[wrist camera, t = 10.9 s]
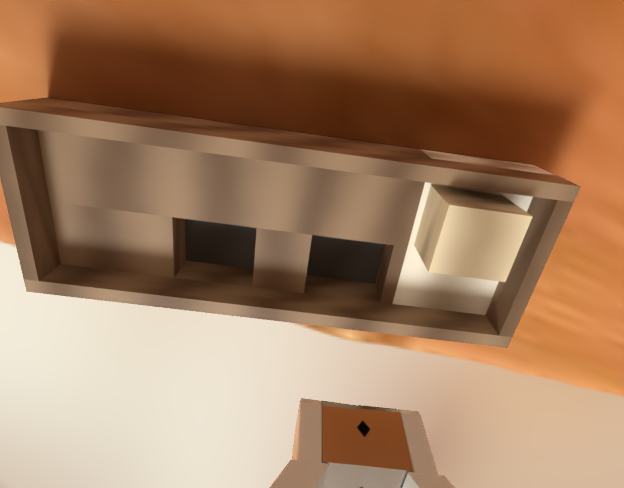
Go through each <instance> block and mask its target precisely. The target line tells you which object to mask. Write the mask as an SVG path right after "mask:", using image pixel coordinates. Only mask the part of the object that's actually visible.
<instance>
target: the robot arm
mask: <svg viewBox="0 0 624 488" xmlns="http://www.w3.org/2000/svg"><path fill="white" fill-rule="evenodd" d="M270 488H455V487H454V486H453V485H452V484H451V483H450V481H448V479H447V478H446V477H445V476H442V475H438V473H437V469H436V466H435V462H434V459H433V456H432V452H431V449H430V445H429V442H428V439H427V435H426V432H425V428H424V425H423V422H422V419H421V415H420V414H419V412H417V411H408V410H397V409H390V408H380V407H370V406H361V405H359V406H356V405H349V404H341V403H334V402H327V401H318V400H310V399H303V398H302V399H301V400H300V405H299V411H298V418H297V423H296V429H295V437H294V445H293V455H292V460H290V462H289V463H288V464H287V466H286V467H285V468H284V470H283V471H282V472H281V474H280V475H279V476H278V478H277V479H276V480H275V482H274V483H273V484H272V486H271V487H270Z"/></svg>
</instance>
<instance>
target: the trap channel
mask: <svg viewBox="0 0 624 488" xmlns="http://www.w3.org/2000/svg"><path fill="white" fill-rule="evenodd" d="M0 178H1V182H2V187H3V191H4V195H5V200H6V204H7V208H8V213H9V217H10V221H11V226H12V230H13V234H14V239H15V243H16V247H17V252H18V255H19V260H20V265H21V269H22V273H23V278H24V282H25V286H26V291H27V292H36V293H44V294H53V295H61V296H70V297H78V298H87V299H96V300H105V301H113V302H122V303H130V304H138V305H147V306H155V307H164V308H172V309H181V310H189V311H199V312H206V313H215V314H223V315H232V316H240V317H249V318H258V319H267V320H275V321H283V322H292V323H300V324H309V325H317V326H326V327H334V328H343V329H351V330H360V331H368V332H377V333H385V334H394V335H402V336H411V337H420V338H428V339H437V340H445V341H454V342H462V343H471V344H479V345H488V346H496V347H505V348H508V345H509V343H510V341H511V339H512V337H513V334H514V332H515V330H516V328H517V326H518V323H519V321H520V319H521V317H522V315H523V312H524V310H525V308H526V306H527V304H528V301H529V299H530V297H531V295H532V293H533V290H534V288H535V286H536V284H537V282H538V279H539V277H540V275H541V273H542V271H543V268H544V266H545V264H546V262H547V260H548V257H549V255H550V253H551V251H552V249H553V246H554V244H555V242H556V240H557V238H558V235H559V233H560V231H561V229H562V227H563V224H564V222H565V220H566V218H567V216H568V213H569V211H570V209H571V207H572V205H573V202H574V200H575V198H576V196H577V194H578V191H579V189H580V187H581V186H578V185H576V184H574V183H572V182H570V181H567V180H565V179H563V178H561V177H559V176H557V175H554V174H552V173H550V172H548V171H546V170H543V169H541V168H539V167H537V166H535V165H531V164H523V163H516V162H509V161H502V160H494V159H487V158H480V157H473V156H466V155H458V154H451V153H444V152H437V151H429V150H422V149H415V148H408V147H401V146H393V145H386V144H379V143H372V142H364V141H357V140H350V139H343V138H336V137H328V136H321V135H314V134H307V133H299V132H292V131H285V130H278V129H270V128H263V127H256V126H249V125H242V124H234V123H227V122H220V121H213V120H205V119H198V118H191V117H184V116H177V115H169V114H162V113H155V112H148V111H140V110H133V109H126V108H119V107H112V106H104V105H97V104H90V103H83V102H75V101H68V100H61V99H54V98H40V99H31V100H22V101H14V102H5V103H0ZM431 185H433V186H440V187H448V188H455V189H462V190H469V191H476V192H483V193H490V194H498V195H503V196H504V197H506V198H507V199H509V200H510V201H511V202H513V203H514V204H516V205H517V206H519V207H520V208H521V209H523V210H524V211H526V212H527V213H529V214H530V215H531V216H533V217H532V220H531V222H530V225H529V227H528V229H527V232H526V234H525V237H524V239H523V241H522V244H521V246H520V248H519V251H518V253H517V256H516V258H515V260H514V263H513V265H512V268H511V270H510V272H509V275H508V277H507V280H506V282H500V281H493V280H485V279H477V278H470V277H462V276H454V275H446V274H439V273H431V272H428V271H427V269H426V267H425V265H424V263H423V261H422V259H421V257H420V256H419V254H418V252H417V250H416V248H415V246H414V242H415V239H416V235H417V232H418V228H419V225H420V221H421V217H422V214H423V210H424V207H425V203H426V200H427V196H428V193H429V189H430V186H431Z"/></svg>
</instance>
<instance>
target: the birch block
mask: <svg viewBox="0 0 624 488" xmlns="http://www.w3.org/2000/svg"><path fill="white" fill-rule="evenodd" d="M532 217H533V216H531V215H530V214H529V213H527V212H526V211H524V210H523V209H521V208H520V207H519V206H517V205H516V204H514V203H513V202H511V201H510V200H509V199H507V198H506V197H504V196H503V195H498V194H490V193H483V192H476V191H469V190H462V189H455V188H448V187H440V186H433V185H431V186H430V189H429V193H428V196H427V200H426V203H425V207H424V210H423V214H422V217H421V221H420V225H419V228H418V232H417V235H416V239H415V242H414V246H415V248H416V250H417V252H418V254H419V256H420V257H421V259H422V261H423V263H424V265H425V267H426V269H427V271H428V272H431V273H439V274H446V275H454V276H462V277H470V278H477V279H485V280H493V281H500V282H506V280H507V277H508V275H509V272H510V270H511V268H512V265H513V263H514V260H515V258H516V256H517V253H518V251H519V248H520V246H521V244H522V241H523V239H524V237H525V234H526V232H527V229H528V227H529V225H530V222H531V220H532Z"/></svg>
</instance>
